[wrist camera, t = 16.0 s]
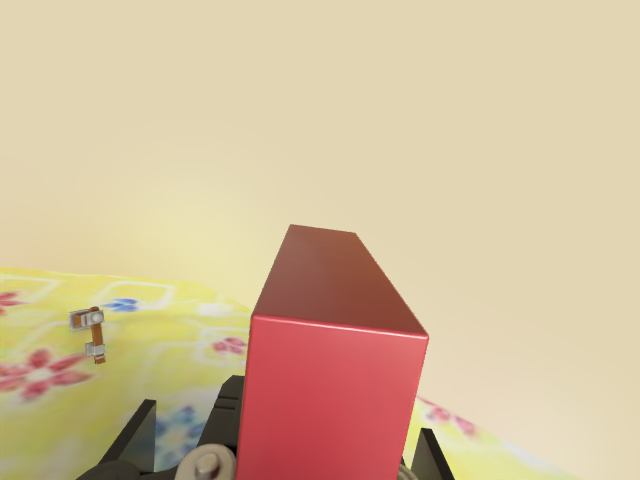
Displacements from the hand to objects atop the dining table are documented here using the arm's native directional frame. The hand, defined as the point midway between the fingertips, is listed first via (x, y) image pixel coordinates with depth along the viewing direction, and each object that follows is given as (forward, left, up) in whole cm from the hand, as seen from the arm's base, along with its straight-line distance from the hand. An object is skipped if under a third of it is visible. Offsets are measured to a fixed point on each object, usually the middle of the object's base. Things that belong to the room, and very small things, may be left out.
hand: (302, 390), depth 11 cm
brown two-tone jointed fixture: (-18, +16, -10) cm, 26 cm away
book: (0, -2, -8) cm, 9 cm away
